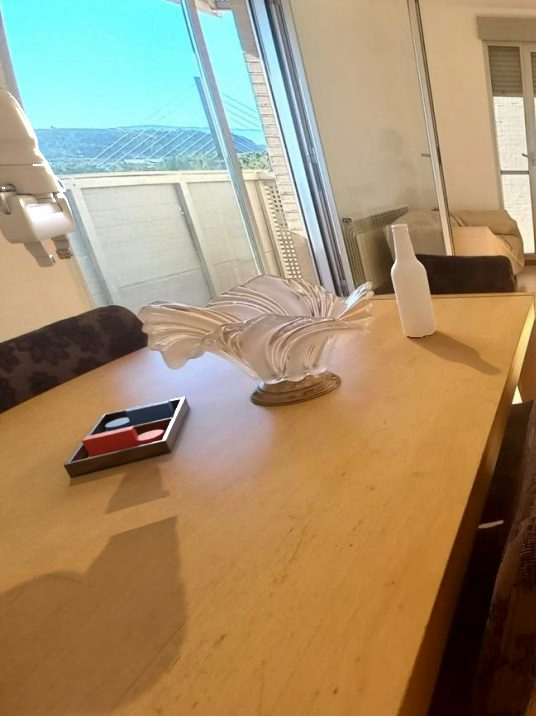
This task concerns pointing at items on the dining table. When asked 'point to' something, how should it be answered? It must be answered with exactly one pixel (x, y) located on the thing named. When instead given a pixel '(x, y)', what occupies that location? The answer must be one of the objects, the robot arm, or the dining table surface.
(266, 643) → the dining table surface
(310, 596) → the dining table surface
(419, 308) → the alcohol
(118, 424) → the blue toy piece
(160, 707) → the dining table surface
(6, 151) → the robot arm
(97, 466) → the tray
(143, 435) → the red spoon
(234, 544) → the dining table surface
